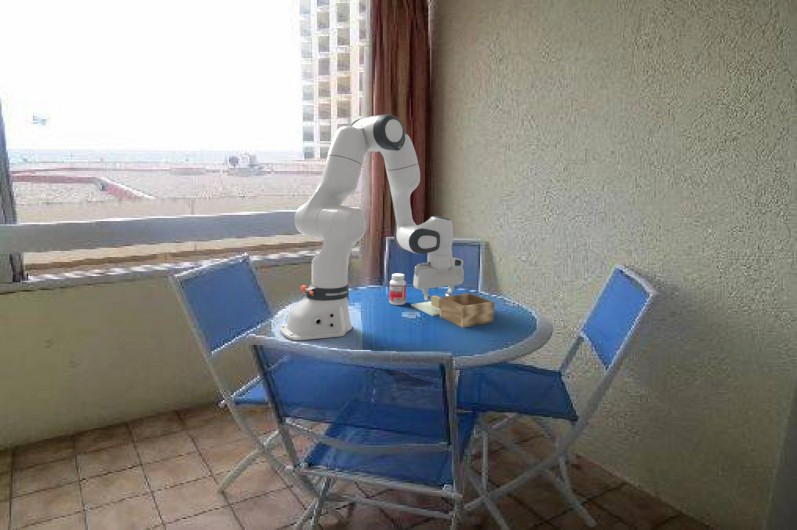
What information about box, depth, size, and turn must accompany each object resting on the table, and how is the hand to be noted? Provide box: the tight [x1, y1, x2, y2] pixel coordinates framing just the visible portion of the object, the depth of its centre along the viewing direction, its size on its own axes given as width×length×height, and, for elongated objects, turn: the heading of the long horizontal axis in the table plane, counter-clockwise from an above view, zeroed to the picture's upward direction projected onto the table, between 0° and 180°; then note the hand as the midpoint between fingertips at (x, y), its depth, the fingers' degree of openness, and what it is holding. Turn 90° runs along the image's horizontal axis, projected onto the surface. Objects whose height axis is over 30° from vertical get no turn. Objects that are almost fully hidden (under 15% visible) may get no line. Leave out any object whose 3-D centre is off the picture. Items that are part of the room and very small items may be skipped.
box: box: [439, 292, 495, 329], centre depth 174 cm, size 13×13×7 cm
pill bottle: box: [388, 272, 407, 306], centre depth 191 cm, size 6×6×11 cm
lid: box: [410, 295, 441, 317], centre depth 187 cm, size 14×14×5 cm
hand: (437, 298), depth 186 cm, fingers open, 8 cm apart
